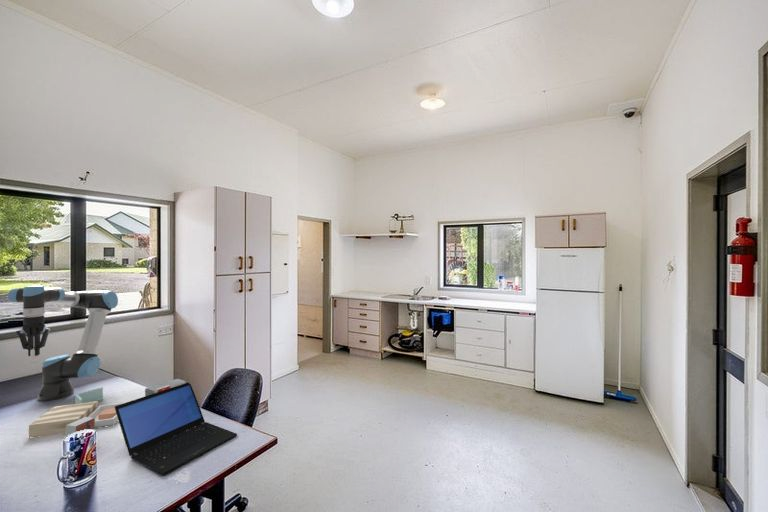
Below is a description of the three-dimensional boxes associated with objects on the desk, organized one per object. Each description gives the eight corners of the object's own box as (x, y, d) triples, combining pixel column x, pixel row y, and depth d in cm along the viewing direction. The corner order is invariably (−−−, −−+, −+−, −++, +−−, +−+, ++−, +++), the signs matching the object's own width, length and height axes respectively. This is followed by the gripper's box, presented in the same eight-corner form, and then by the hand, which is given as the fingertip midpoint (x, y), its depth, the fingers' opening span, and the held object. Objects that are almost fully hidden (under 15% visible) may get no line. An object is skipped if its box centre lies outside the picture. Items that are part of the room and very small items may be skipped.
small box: (75, 450, 143) (75, 426, 143) (65, 449, 144) (65, 425, 144) (95, 440, 150) (95, 417, 150) (85, 439, 152) (85, 416, 152)
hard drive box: (152, 433, 156) (152, 391, 156) (144, 429, 160) (144, 388, 160) (186, 419, 170) (185, 380, 170) (177, 416, 174) (177, 377, 174)
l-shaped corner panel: (79, 413, 177) (79, 399, 177) (74, 407, 184) (74, 394, 184) (108, 405, 187) (108, 392, 187) (102, 400, 194) (102, 387, 194)
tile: (120, 407, 176) (120, 412, 176) (104, 409, 173) (104, 414, 173) (115, 412, 169) (115, 418, 169) (98, 415, 167) (98, 421, 167)
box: (99, 412, 178) (99, 405, 178) (129, 408, 182) (129, 401, 182) (80, 430, 159) (80, 423, 159) (113, 425, 164) (113, 418, 164)
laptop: (162, 479, 125) (162, 427, 125) (113, 451, 143) (113, 406, 143) (238, 437, 154) (238, 395, 154) (190, 418, 172) (190, 380, 172)
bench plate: (54, 418, 171) (54, 406, 171) (97, 412, 177) (97, 401, 177) (28, 438, 152) (28, 425, 152) (78, 431, 159) (78, 418, 159)
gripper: (11, 318, 164) (11, 365, 164) (45, 316, 169) (46, 362, 169) (22, 315, 171) (22, 361, 171) (54, 314, 176) (54, 358, 176)
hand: (34, 362), depth 170 cm, fingers closed
